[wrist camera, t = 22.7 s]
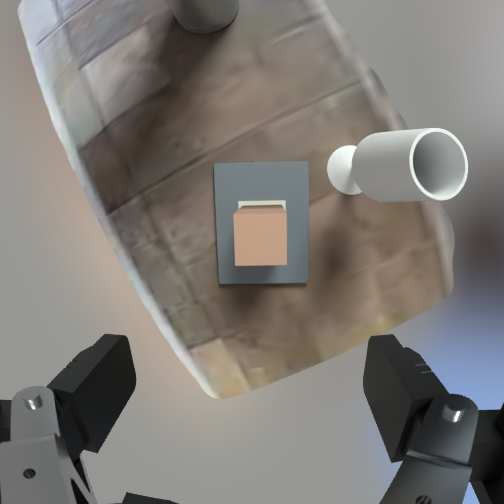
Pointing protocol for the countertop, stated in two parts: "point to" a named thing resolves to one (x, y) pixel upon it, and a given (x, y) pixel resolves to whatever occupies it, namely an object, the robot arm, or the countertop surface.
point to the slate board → (263, 193)
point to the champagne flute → (401, 166)
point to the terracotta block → (260, 237)
